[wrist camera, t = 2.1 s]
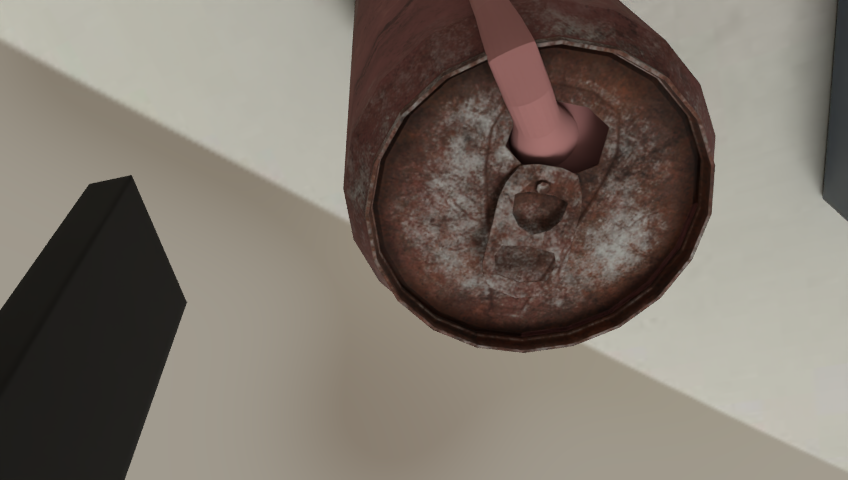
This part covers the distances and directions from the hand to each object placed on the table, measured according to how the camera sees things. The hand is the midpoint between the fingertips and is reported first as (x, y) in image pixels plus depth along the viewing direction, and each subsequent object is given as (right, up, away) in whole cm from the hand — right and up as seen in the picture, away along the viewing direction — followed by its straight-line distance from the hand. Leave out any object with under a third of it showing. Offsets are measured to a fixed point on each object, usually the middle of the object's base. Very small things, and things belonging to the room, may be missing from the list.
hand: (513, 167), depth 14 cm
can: (-1, +6, +10) cm, 12 cm away
